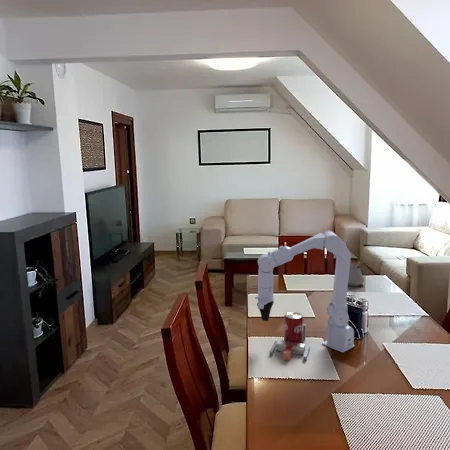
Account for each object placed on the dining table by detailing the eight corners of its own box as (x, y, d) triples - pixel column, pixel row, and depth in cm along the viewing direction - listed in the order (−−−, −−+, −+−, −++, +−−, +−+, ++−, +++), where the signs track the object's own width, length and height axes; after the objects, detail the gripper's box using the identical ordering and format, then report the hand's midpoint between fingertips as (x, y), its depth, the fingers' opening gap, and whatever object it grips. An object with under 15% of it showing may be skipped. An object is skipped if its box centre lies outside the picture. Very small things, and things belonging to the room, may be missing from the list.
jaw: (278, 346, 156) (278, 340, 155) (304, 350, 153) (304, 343, 152) (272, 358, 147) (272, 350, 147) (300, 362, 144) (300, 355, 144)
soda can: (281, 346, 157) (281, 316, 155) (287, 338, 163) (287, 310, 161) (299, 350, 153) (300, 320, 151) (305, 342, 160) (306, 313, 158)
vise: (280, 334, 167) (280, 320, 166) (313, 339, 162) (313, 325, 161) (269, 355, 150) (269, 340, 149) (306, 361, 145) (306, 345, 144)
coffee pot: (340, 280, 237) (341, 255, 234) (361, 281, 236) (362, 255, 233) (348, 293, 216) (349, 265, 213) (370, 293, 215) (372, 265, 212)
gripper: (260, 279, 163) (260, 312, 165) (250, 291, 149) (249, 326, 152) (277, 281, 160) (277, 314, 163) (268, 293, 147) (268, 328, 149)
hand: (265, 320), depth 157 cm, fingers closed
